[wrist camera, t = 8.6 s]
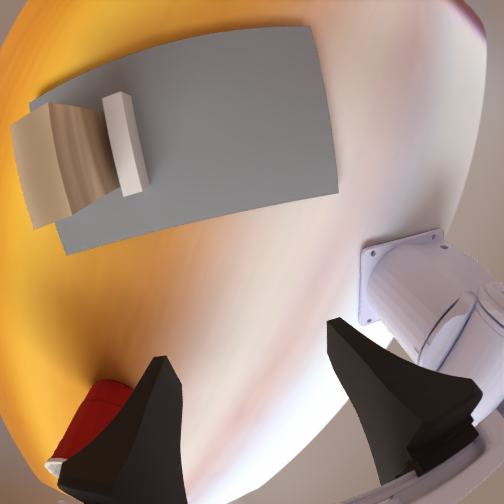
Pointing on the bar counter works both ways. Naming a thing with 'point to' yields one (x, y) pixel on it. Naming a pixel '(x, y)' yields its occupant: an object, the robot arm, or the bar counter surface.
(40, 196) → the wooden block
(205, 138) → the clip board
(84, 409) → the plastic cup
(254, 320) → the bar counter surface
